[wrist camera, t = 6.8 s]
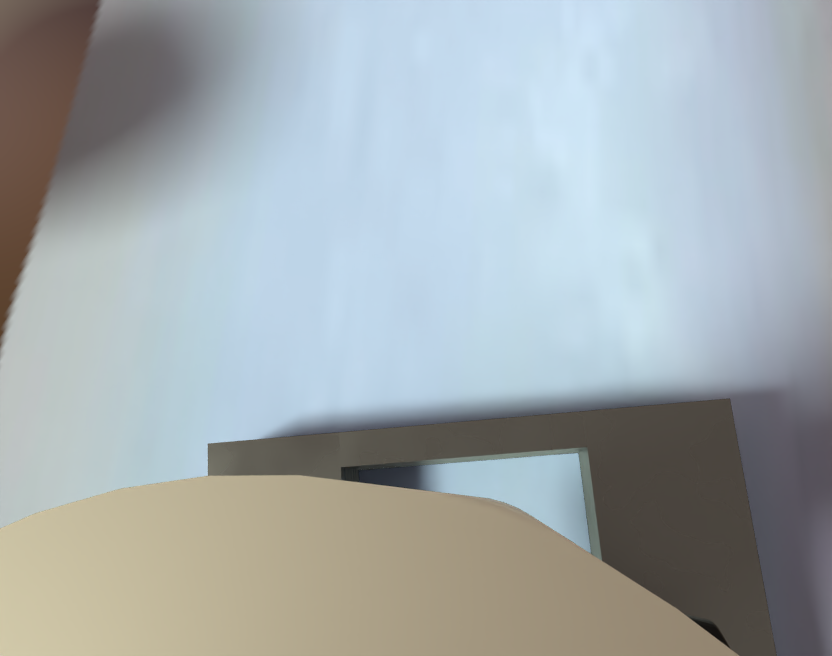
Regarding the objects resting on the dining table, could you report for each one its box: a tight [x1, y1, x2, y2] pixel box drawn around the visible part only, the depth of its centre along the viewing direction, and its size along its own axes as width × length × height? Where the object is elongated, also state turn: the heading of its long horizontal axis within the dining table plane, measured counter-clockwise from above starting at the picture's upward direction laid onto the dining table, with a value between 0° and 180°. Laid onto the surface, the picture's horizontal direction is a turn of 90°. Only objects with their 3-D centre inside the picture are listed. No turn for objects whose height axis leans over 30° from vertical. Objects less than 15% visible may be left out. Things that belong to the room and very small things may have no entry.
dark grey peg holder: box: [208, 399, 777, 656], centre depth 20 cm, size 15×9×2 cm, turn 95°
